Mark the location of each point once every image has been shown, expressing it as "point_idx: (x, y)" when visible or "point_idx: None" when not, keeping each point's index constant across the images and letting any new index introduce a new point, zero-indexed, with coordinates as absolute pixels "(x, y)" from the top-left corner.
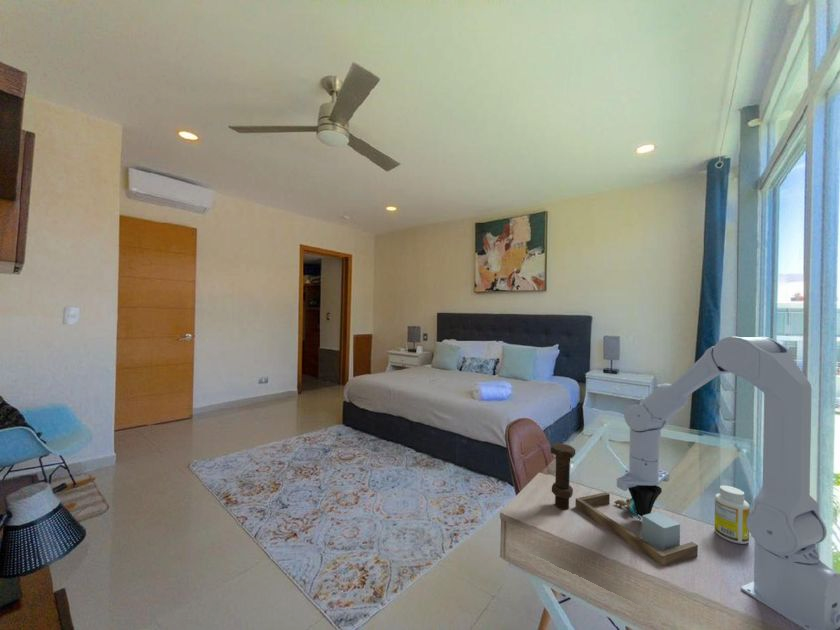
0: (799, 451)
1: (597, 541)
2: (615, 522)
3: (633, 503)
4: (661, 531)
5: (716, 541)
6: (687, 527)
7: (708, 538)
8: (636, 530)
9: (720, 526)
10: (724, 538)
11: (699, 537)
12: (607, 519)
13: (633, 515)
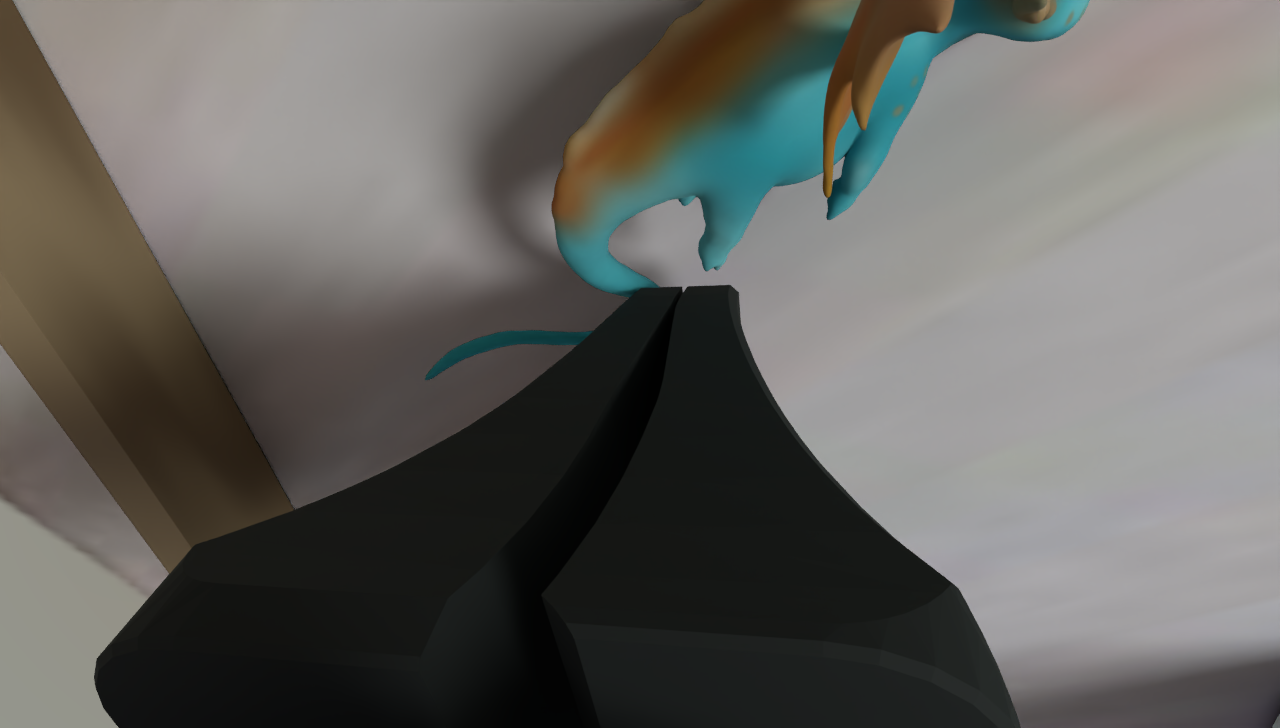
0: None
1: (8, 396)
2: (117, 456)
3: (714, 188)
4: None
5: (1142, 693)
6: (1169, 518)
7: (1127, 658)
8: (478, 390)
9: None
10: (1276, 720)
11: (1053, 627)
12: (40, 390)
13: (515, 342)
